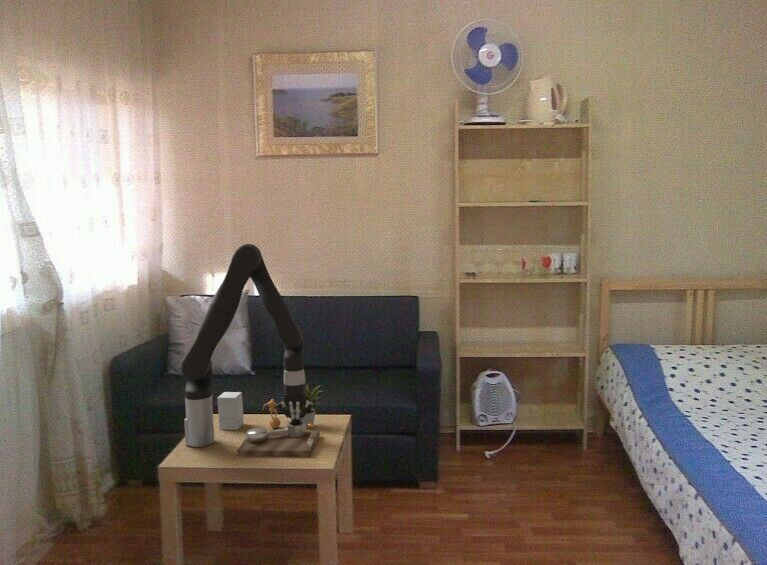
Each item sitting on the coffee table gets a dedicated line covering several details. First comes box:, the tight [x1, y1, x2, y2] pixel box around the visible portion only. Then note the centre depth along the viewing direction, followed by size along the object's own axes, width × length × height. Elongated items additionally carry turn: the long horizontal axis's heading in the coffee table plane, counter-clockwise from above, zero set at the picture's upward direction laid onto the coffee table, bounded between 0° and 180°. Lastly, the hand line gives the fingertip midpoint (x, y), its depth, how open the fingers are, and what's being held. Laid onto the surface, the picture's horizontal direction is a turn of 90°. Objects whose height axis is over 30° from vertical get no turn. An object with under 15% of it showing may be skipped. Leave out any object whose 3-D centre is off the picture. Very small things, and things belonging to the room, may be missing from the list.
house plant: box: [300, 384, 323, 430], centre depth 267 cm, size 14×14×16 cm
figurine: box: [262, 398, 281, 429], centre depth 265 cm, size 8×6×12 cm
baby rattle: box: [246, 420, 314, 443], centre depth 252 cm, size 24×7×4 cm, turn 110°
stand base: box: [236, 430, 321, 458], centre depth 249 cm, size 25×19×3 cm
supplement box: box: [216, 391, 245, 431], centre depth 269 cm, size 7×7×13 cm
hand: (296, 428), depth 254 cm, fingers closed
